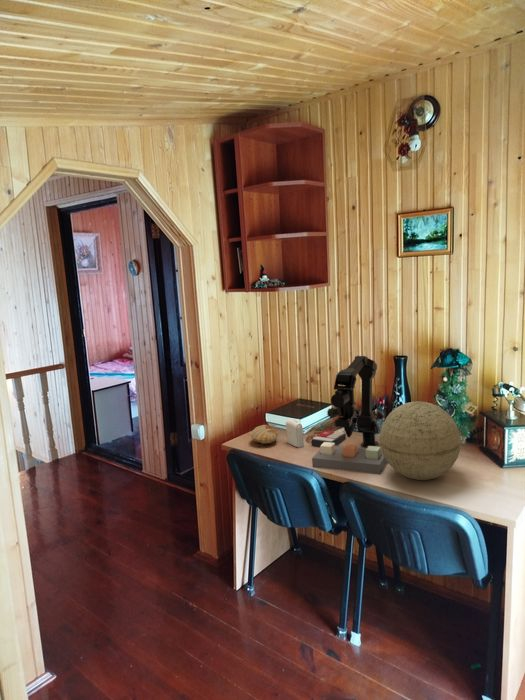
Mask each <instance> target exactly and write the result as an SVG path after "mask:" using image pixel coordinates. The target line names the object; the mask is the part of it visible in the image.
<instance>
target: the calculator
mask: <svg viewBox="0 0 525 700" xmlns="http://www.w3.org/2000/svg"><path fill="white" fill-rule="evenodd" d="M345 440H347V434H346V433H345V432H342V431H341V432H340V431H334V430H327V429H326V430H324V431H323V432H321V433H319V434H317V435H315V436H314V437H312V439H311V441H310V442H311V447H314V448H315V447H316V448H320V446H321V445H322V444H323V443H324V442H330V443H335V446H339V445H340V444H341V443H342V442H344V441H345Z"/></svg>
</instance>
